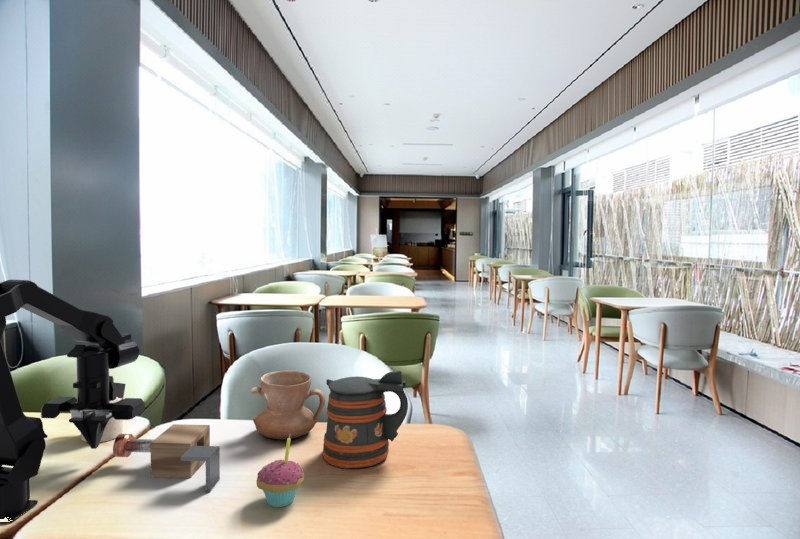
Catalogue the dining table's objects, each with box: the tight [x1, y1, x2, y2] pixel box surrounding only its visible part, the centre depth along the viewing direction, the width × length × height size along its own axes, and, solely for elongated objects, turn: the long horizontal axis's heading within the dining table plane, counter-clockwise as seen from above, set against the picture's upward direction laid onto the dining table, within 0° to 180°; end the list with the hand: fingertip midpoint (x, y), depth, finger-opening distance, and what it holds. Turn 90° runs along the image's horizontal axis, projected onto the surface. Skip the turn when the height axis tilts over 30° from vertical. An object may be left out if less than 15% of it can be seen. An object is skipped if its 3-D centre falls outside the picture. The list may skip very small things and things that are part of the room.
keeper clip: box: [181, 445, 221, 493], centre depth 99 cm, size 5×6×7 cm
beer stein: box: [322, 369, 409, 470], centre depth 113 cm, size 19×15×20 cm
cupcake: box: [256, 434, 305, 508], centre depth 93 cm, size 9×8×12 cm
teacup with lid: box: [80, 397, 124, 443], centre depth 122 cm, size 12×9×12 cm
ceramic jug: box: [250, 370, 326, 440], centre depth 125 cm, size 18×14×14 cm
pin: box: [112, 433, 155, 458], centre depth 107 cm, size 5×14×5 cm, turn 89°
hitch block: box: [150, 423, 211, 479], centre depth 107 cm, size 10×8×7 cm
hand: (94, 448), depth 107 cm, fingers closed
